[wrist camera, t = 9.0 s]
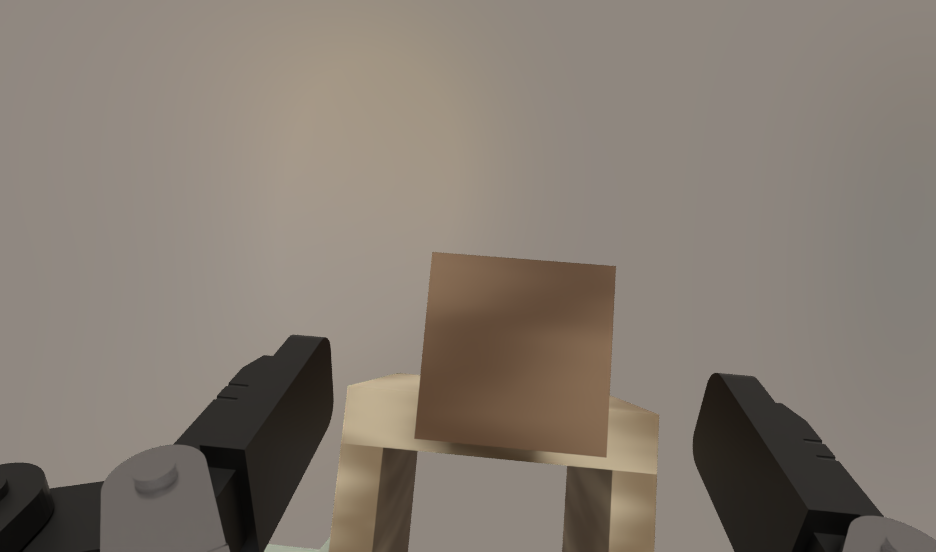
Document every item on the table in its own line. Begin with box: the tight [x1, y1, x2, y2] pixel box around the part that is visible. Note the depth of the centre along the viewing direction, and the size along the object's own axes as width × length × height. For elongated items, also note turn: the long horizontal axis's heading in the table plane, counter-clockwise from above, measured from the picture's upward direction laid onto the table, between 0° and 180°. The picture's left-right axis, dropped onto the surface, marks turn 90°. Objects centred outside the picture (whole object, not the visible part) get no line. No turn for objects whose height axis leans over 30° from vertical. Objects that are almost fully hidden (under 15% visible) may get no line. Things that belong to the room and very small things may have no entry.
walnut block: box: [414, 252, 616, 458], centre depth 22 cm, size 4×24×4 cm, turn 177°
